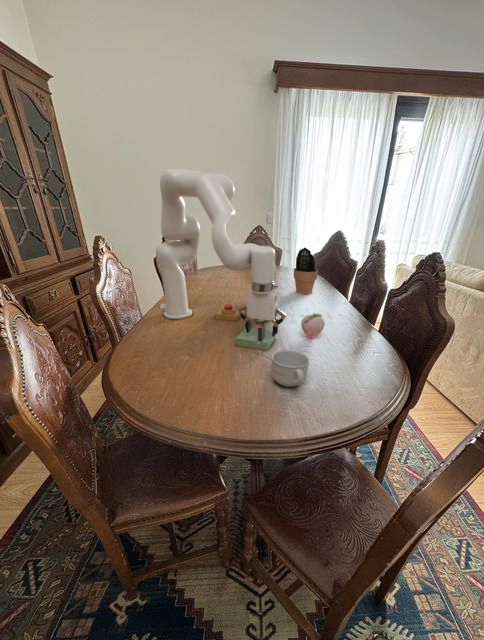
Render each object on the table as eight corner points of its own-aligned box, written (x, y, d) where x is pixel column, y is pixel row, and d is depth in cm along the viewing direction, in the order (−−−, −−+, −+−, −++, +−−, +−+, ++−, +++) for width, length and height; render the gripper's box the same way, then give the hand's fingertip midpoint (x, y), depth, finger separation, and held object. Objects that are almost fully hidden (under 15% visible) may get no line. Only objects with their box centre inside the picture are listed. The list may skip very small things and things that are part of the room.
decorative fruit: (309, 330, 119) (312, 307, 114) (326, 336, 114) (329, 312, 109) (295, 336, 113) (297, 312, 108) (312, 343, 108) (314, 318, 103)
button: (223, 310, 128) (222, 306, 127) (226, 307, 131) (226, 303, 130) (230, 311, 127) (230, 307, 126) (233, 308, 130) (233, 304, 129)
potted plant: (317, 295, 161) (322, 249, 150) (293, 295, 161) (296, 249, 150) (313, 289, 173) (318, 245, 162) (291, 288, 173) (294, 245, 162)
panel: (234, 347, 104) (234, 339, 102) (245, 334, 114) (245, 327, 112) (269, 353, 100) (270, 345, 99) (278, 339, 110) (278, 332, 109)
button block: (214, 318, 129) (214, 310, 127) (222, 312, 135) (221, 304, 133) (235, 321, 126) (235, 312, 124) (242, 315, 133) (241, 306, 131)
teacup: (268, 371, 89) (269, 349, 86) (303, 370, 90) (305, 348, 87) (274, 399, 77) (275, 374, 73) (313, 397, 78) (316, 372, 74)
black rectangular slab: (261, 336, 106) (261, 322, 103) (265, 336, 105) (265, 323, 103) (257, 341, 102) (258, 327, 99) (261, 341, 101) (261, 328, 99)
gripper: (290, 286, 96) (287, 332, 104) (241, 281, 100) (242, 326, 108) (285, 292, 89) (282, 341, 97) (233, 286, 94) (235, 334, 102)
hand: (261, 333), depth 103 cm, fingers open, 9 cm apart
